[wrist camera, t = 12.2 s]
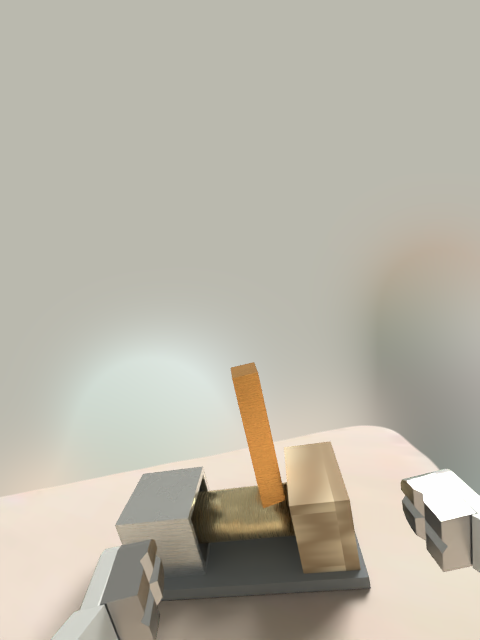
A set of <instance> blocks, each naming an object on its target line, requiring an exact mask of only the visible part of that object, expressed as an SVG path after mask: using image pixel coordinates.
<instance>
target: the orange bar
mask: <svg viewBox="0 0 480 640" xmlns="http://www.w3.org/2000/svg"><path fill="white" fill-rule="evenodd" d="M231 373H232V380H233V383H234V388H235V392H236V396H237V400H238V405H239V409H240V413H241V417H242V421H243V426H244V429H245V434H246V438H247V442H248V447H249V451H250V455H251V459H252V463H253V468H254V472H255V476H256V480H257V484H258V486H250V487H241V488H232V489H223V490H214V491H205V492H198V495H197V499H196V502H195V506H194V510H193V513H192V517H191V521H192V524H193V527H194V531H195V534H196V537H197V540H198V544H204V543H215V542H227V541H238V540H250V539H262V538H273V537H285V536H295V531H294V526H293V522H292V517H291V512H290V508H289V499H288V487H287V482H286V483H282V481H281V477H280V472H279V468H278V463H277V458H276V454H275V449H274V444H273V440H272V435H271V431H270V426H269V421H268V417H267V413H266V408H265V404H264V398H263V394H262V389H261V385H260V380H259V375H258V372H257V369H256V366H255V364H254V363H249V364H245V365H240V366H237V367H232V368H231Z"/></svg>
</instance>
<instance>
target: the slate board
mask: <svg viewBox="0 0 480 640" xmlns="http://www.w3.org/2000/svg"><path fill="white" fill-rule="evenodd" d="M355 537H356V534H355ZM356 543H357V550H358V556H359V562H360V569H361V570H351V571H336V572H322V573H307V574H304V573H303V568H302V564H301V559H300V554H299V550H298V545H297V540H296V536H285V537H273V538H262V539H250V540H238V541H227V542H215V543H211V547H210V553H209V558H208V563H207V569H206V574H205V575H195V576H181V577H167V578H164V591H163V597H162V599H161V601H165V600H181V599H198V598H215V597H232V596H248V595H265V594H282V593H299V592H315V591H332V590H349V589H366V588H371V587H370V581H369V576H368V572H367V569H366V566H365V563H364V560H363V556H362V553H361V550H360V547H359V543H358V540H357V537H356Z"/></svg>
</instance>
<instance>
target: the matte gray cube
mask: <svg viewBox="0 0 480 640" xmlns="http://www.w3.org/2000/svg"><path fill="white" fill-rule="evenodd" d="M205 491H210V490H209V487H208V483H207V480H206V476H205V472H204V469H203V467H196V468H188V469H180V470H172V471H164V472H155V473H147V474H143V475H142V477H141V479H140V481H139V482H138V484H137V486H136V488H135V490H134V492H133V493H132V495H131V497H130V499H129V501H128V503H127V504H126V506H125V508H124V510H123V512H122V514H121V515H120V517H119V519H118V521H117V523H116V525H115V527H116V529H117V532H118V535H119V537H120V540H121V542H122V545H126V544H131V543H136V542H140V541H145V540H150V539H154V540H155V542H156V545H157V553H156V556H158V557H159V558H161V560H162V564H163V568H164V578H167V577H181V576H195V575H205V574H206V569H207V563H208V558H209V553H210V547H211V543H204V544H198V540H197V537H196V534H195V531H194V527H193V524H192V521H191V517H192V513H193V510H194V506H195V502H196V499H197V495H198V492H205Z"/></svg>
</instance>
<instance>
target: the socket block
mask: <svg viewBox="0 0 480 640" xmlns="http://www.w3.org/2000/svg"><path fill="white" fill-rule="evenodd" d="M284 452H285V464H286V476H287V487H288V499H289V508H290V512H291V517H292V522H293V526H294V531H295V536H296V540H297V545H298V550H299V554H300V559H301V564H302V568H303V573H304V574H307V573H322V572H336V571H351V570H361V569H360V562H359V556H358V550H357V543H356V537H355V531H354V525H353V518H352V512H351V506H350V500H349V497H348V494H347V491H346V488H345V484H344V481H343V478H342V475H341V472H340V469H339V466H338V463H337V460H336V457H335V454H334V451H333V448H332V445H331V442H323V443H315V444H308V445H300V446H292V447H284Z"/></svg>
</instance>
